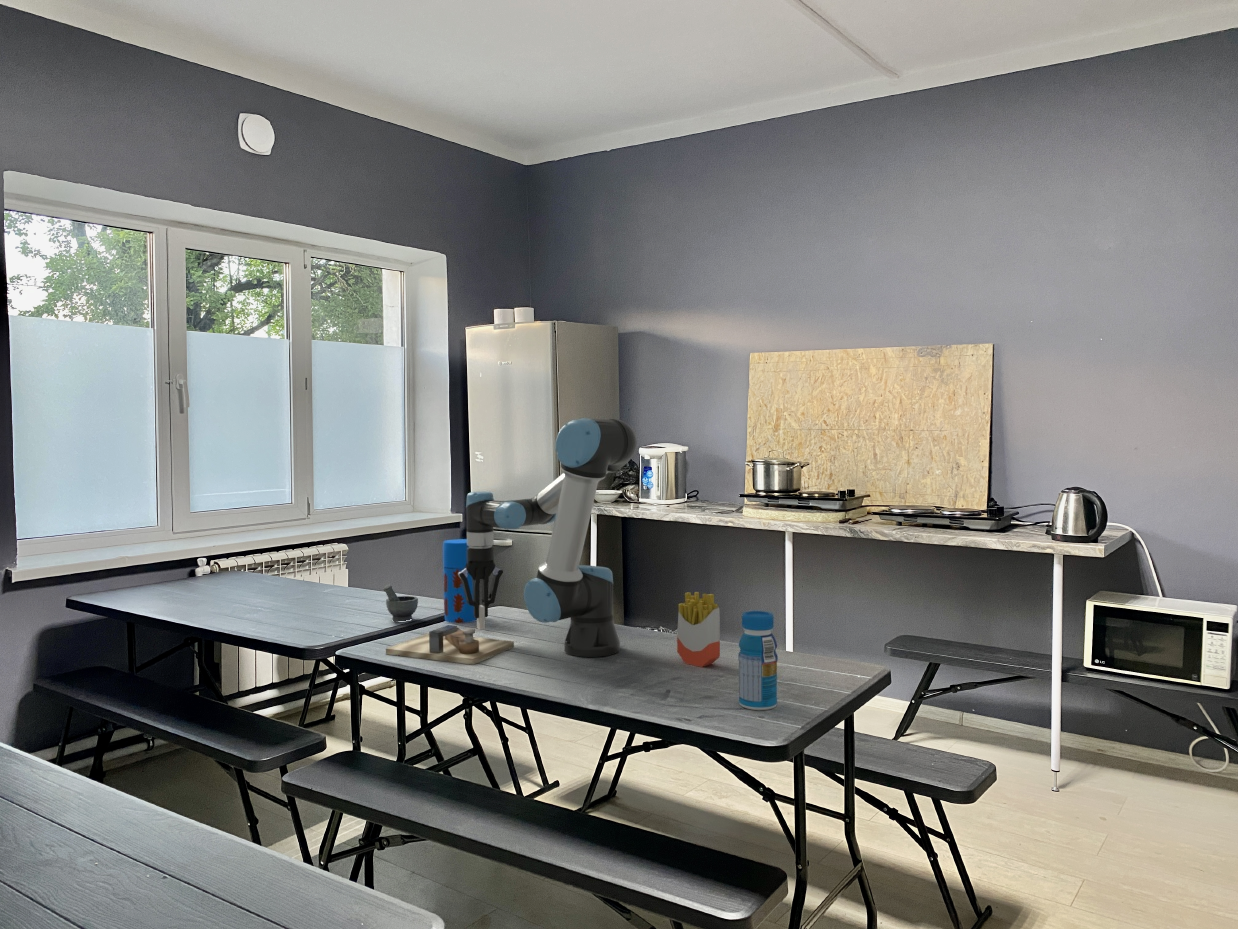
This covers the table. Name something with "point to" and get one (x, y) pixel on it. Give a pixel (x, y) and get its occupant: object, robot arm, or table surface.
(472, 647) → the link
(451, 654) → the board
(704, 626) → the french fries container
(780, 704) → the table surface
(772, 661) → the beverage bottle
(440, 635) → the keeper
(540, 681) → the table surface
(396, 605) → the mortar and pestle
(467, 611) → the thermos
